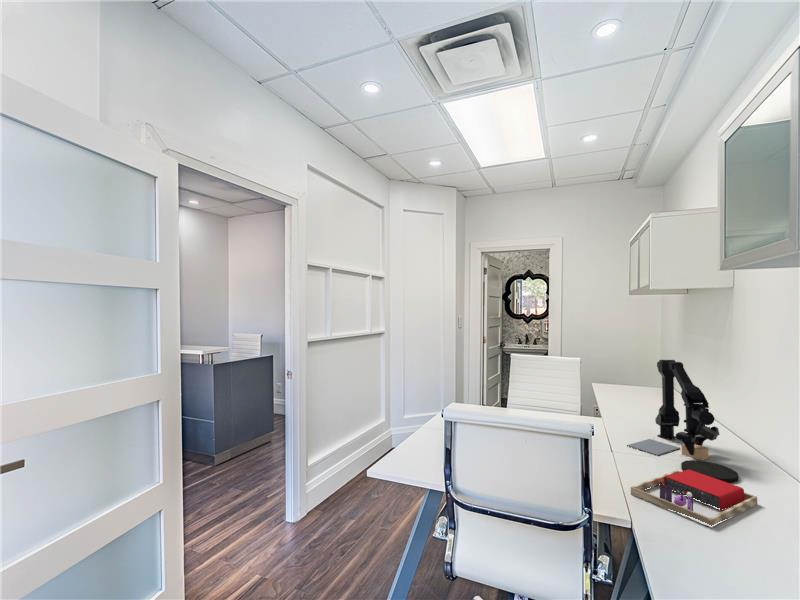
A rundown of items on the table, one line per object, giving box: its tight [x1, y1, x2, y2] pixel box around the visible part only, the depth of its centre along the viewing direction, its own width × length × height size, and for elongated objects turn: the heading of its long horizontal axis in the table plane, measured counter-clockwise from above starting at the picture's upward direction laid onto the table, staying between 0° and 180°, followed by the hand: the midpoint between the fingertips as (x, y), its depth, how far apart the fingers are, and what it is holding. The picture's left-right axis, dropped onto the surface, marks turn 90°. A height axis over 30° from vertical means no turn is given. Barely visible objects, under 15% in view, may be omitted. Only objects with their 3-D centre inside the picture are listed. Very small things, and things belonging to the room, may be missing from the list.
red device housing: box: [663, 470, 745, 511], centre depth 136 cm, size 18×14×5 cm
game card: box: [659, 484, 694, 511], centre depth 129 cm, size 7×5×9 cm
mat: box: [626, 438, 681, 457], centre depth 183 cm, size 18×14×1 cm
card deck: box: [681, 443, 709, 461], centre depth 172 cm, size 5×8×4 cm, turn 26°
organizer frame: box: [630, 469, 758, 526], centre depth 134 cm, size 30×25×2 cm
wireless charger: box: [680, 459, 739, 484], centre depth 154 cm, size 18×18×2 cm
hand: (694, 453), depth 172 cm, fingers closed on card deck, 5 cm apart
